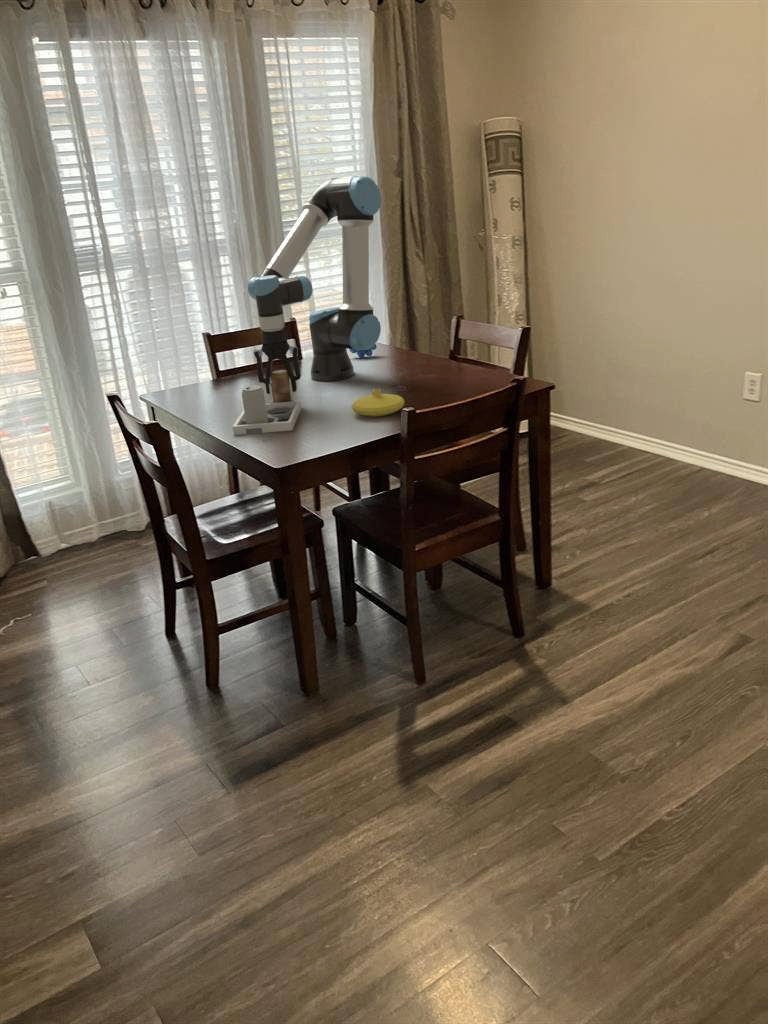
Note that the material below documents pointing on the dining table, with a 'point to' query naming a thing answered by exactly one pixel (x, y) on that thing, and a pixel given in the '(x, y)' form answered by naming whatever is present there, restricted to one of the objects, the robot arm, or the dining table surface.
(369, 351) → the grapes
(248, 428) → the white tray
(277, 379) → the brown cylinder
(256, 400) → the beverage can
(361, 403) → the yellow lid
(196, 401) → the dining table surface
